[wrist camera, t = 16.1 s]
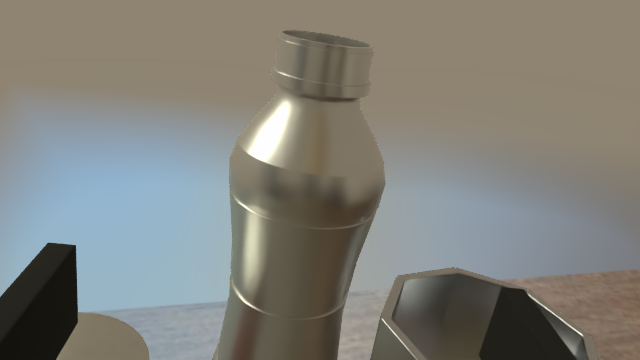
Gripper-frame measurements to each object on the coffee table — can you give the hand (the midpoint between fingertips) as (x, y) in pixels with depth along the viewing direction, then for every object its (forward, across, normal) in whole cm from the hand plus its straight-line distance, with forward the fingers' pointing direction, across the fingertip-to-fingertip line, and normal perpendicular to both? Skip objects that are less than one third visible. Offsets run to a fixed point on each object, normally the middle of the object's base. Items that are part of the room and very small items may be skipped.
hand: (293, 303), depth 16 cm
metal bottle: (+7, 0, -13) cm, 14 cm away
